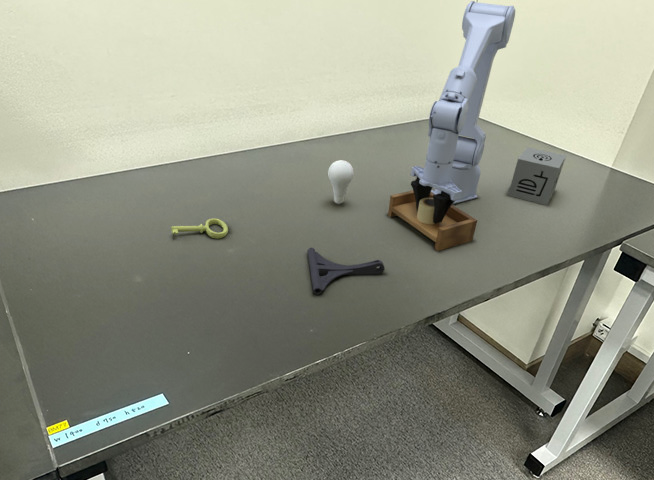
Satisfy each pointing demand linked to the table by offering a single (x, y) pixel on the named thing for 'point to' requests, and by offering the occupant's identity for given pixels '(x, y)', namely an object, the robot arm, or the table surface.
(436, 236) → the shelf
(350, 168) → the lightbulb
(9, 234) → the table surface
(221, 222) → the key
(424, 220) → the tape roll
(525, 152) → the icon cube
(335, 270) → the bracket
